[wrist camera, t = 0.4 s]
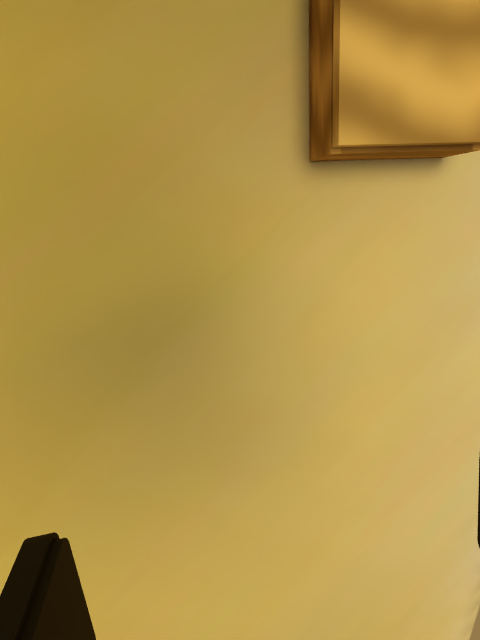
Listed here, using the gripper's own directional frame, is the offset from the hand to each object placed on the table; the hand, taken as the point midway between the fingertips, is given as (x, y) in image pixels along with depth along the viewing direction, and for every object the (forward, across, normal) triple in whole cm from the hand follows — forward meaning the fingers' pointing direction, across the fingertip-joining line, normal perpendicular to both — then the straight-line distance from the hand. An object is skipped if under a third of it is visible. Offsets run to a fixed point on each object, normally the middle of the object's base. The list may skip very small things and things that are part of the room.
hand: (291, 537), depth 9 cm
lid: (+25, -18, -18) cm, 36 cm away
